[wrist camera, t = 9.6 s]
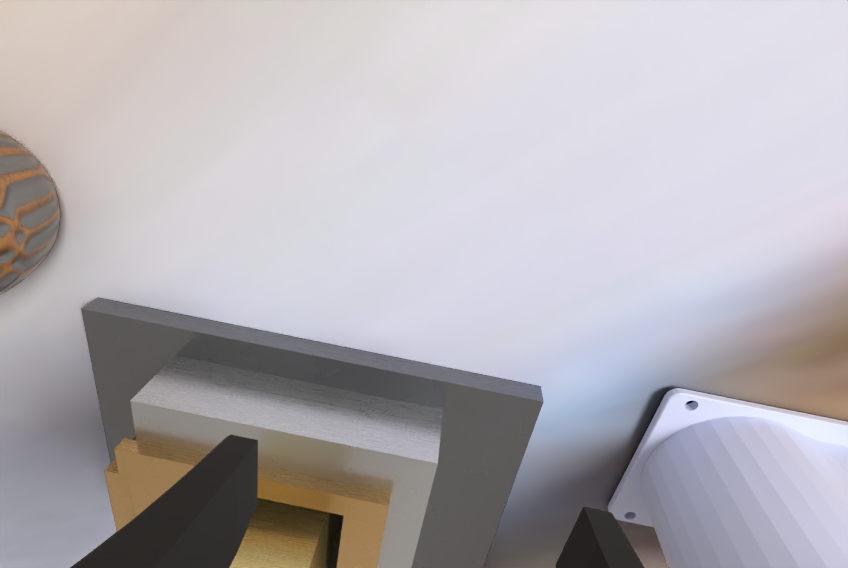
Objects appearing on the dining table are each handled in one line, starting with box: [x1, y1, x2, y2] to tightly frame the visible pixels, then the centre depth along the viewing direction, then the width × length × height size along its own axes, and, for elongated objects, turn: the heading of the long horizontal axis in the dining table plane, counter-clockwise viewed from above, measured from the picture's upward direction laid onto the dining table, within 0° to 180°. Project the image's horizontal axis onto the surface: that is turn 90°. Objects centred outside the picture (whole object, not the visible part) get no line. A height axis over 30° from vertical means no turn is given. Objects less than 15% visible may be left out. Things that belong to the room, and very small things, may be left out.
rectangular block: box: [229, 498, 341, 568], centre depth 20 cm, size 4×4×8 cm
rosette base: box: [81, 298, 543, 568], centre depth 22 cm, size 20×15×5 cm
